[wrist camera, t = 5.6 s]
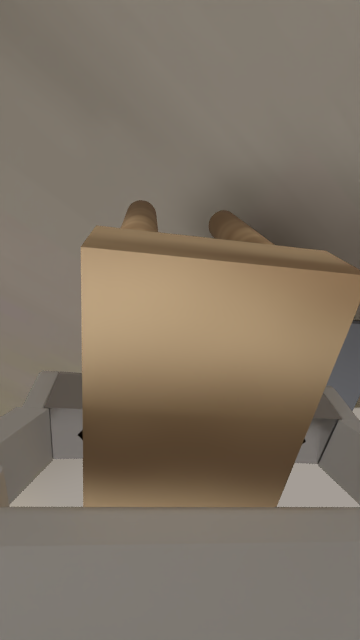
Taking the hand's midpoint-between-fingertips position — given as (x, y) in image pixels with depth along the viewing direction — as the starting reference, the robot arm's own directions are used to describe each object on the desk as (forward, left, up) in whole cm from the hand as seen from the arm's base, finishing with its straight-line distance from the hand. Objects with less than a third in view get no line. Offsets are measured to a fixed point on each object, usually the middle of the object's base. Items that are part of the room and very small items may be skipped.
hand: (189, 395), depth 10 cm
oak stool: (0, 0, -8) cm, 8 cm away
